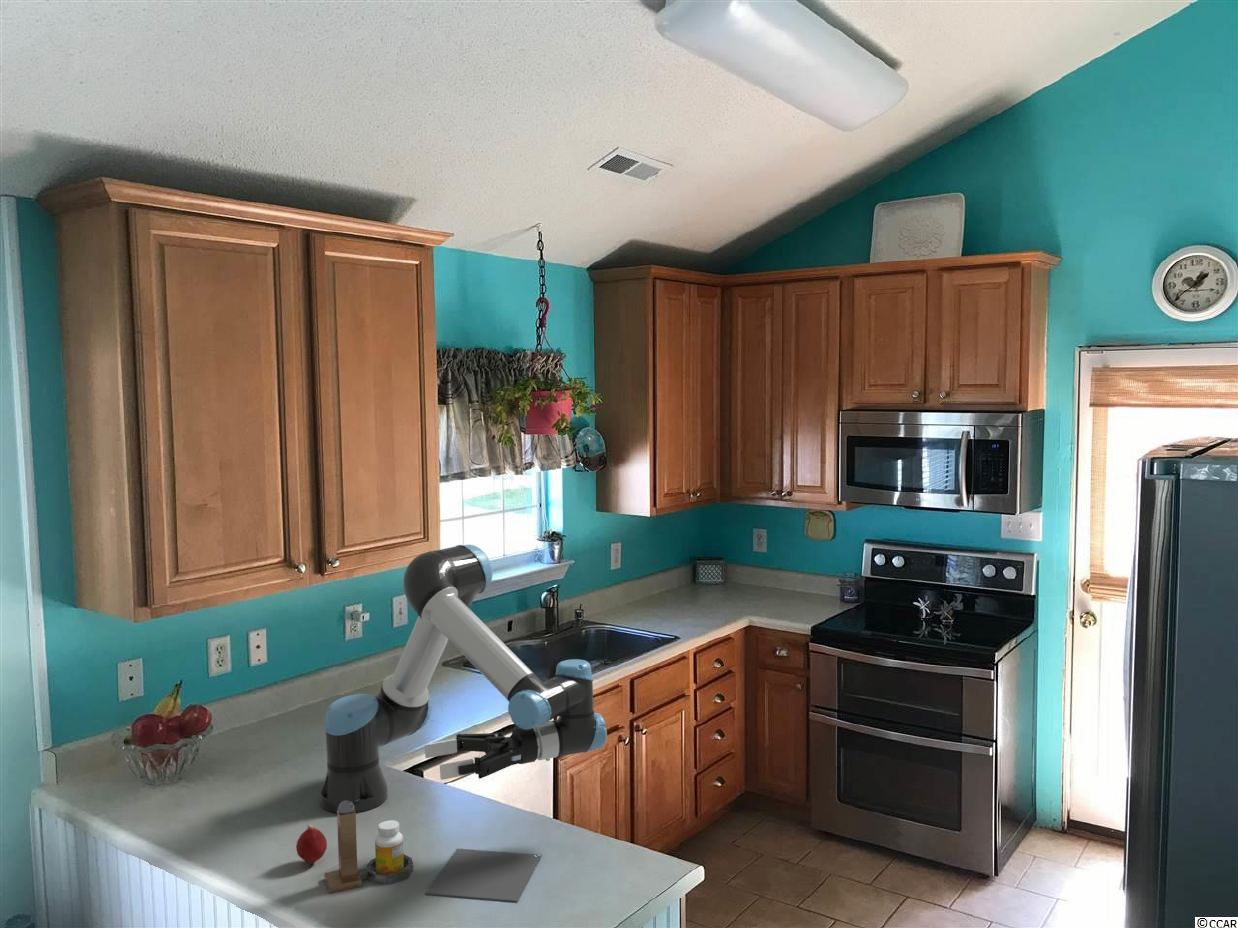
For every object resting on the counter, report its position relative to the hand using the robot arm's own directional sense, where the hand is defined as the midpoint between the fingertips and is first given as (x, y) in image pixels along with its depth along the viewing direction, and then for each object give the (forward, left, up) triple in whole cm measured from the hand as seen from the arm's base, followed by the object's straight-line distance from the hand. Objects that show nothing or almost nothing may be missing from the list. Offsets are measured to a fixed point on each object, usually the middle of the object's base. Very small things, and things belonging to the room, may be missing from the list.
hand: (432, 761), depth 194 cm
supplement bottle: (+5, -7, -21) cm, 23 cm away
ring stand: (+8, -11, -21) cm, 25 cm away
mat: (+3, +12, -21) cm, 24 cm away
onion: (+4, -24, -21) cm, 32 cm away
